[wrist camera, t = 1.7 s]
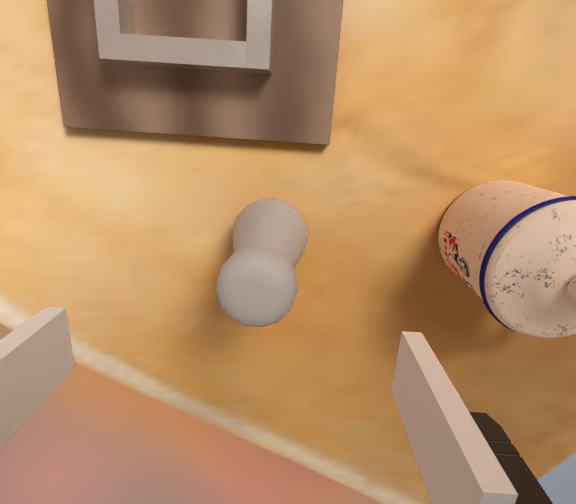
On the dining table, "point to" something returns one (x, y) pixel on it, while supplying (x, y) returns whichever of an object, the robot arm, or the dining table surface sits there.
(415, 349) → the robot arm
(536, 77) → the dining table surface
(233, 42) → the metal collar
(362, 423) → the dining table surface
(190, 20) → the walnut board
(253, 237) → the salt shaker
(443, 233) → the teacup with lid
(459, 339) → the dining table surface
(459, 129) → the dining table surface
